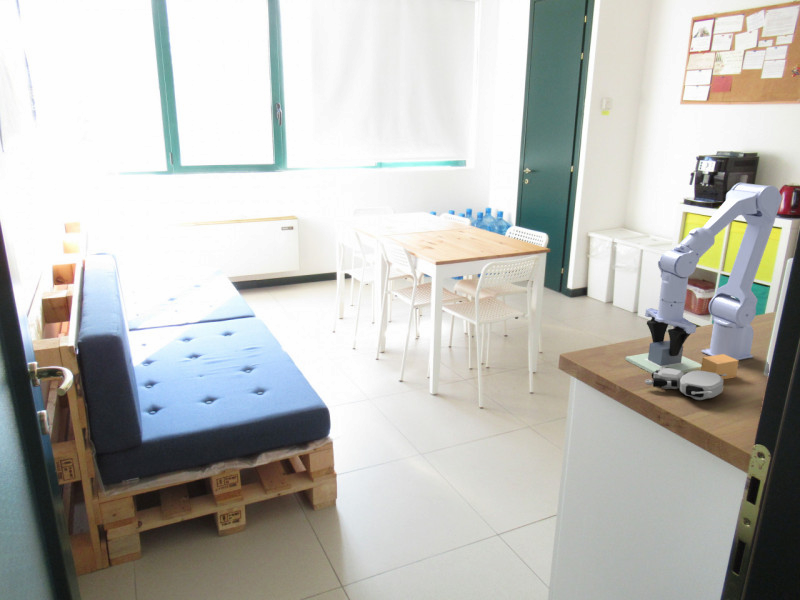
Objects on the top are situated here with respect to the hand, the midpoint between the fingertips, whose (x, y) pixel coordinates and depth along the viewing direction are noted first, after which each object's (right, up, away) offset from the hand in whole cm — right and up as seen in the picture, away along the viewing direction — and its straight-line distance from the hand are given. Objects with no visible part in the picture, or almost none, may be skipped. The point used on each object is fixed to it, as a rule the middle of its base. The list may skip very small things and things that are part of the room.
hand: (665, 351), depth 149 cm
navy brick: (0, -2, +1) cm, 3 cm away
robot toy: (-2, -8, -14) cm, 16 cm away
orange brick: (+10, -5, -6) cm, 13 cm away
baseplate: (0, -3, +1) cm, 3 cm away
